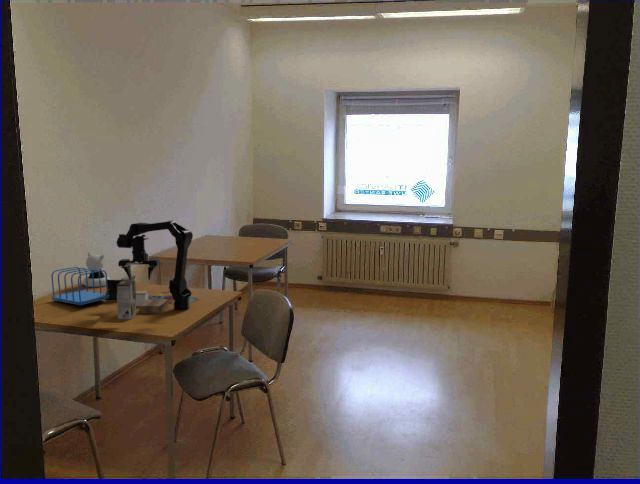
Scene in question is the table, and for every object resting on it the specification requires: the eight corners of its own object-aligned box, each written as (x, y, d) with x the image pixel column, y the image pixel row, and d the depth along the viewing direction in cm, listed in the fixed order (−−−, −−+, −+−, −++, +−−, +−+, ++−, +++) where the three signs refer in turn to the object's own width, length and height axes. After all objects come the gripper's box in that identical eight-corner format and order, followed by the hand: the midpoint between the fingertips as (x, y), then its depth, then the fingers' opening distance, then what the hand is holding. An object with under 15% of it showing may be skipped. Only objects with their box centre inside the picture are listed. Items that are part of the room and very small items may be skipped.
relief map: (201, 300, 291) (201, 297, 291) (177, 306, 279) (177, 302, 279) (170, 293, 306) (170, 289, 306) (146, 298, 294) (146, 294, 294)
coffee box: (122, 314, 262) (121, 280, 260) (137, 313, 263) (135, 280, 261) (117, 319, 253) (115, 284, 251) (131, 319, 254) (130, 284, 252)
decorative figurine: (115, 283, 327) (114, 249, 324) (102, 288, 313) (101, 253, 310) (91, 282, 329) (90, 248, 326) (77, 287, 315) (75, 252, 312)
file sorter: (51, 300, 287) (48, 270, 285) (82, 293, 301) (79, 265, 299) (80, 305, 273) (77, 274, 271) (111, 298, 287) (108, 268, 285)
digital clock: (129, 288, 313) (129, 272, 312) (141, 290, 310) (140, 274, 309) (112, 294, 300) (111, 277, 299) (124, 295, 298) (123, 278, 296)
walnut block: (168, 306, 277) (168, 299, 276) (160, 313, 264) (160, 306, 263) (148, 305, 277) (148, 299, 276) (139, 313, 264) (139, 305, 264)
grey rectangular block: (104, 300, 285) (105, 279, 286) (106, 300, 288) (107, 280, 290) (126, 300, 286) (127, 280, 287) (128, 300, 289) (129, 280, 291)
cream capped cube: (148, 303, 282) (148, 290, 281) (145, 306, 276) (144, 293, 275) (138, 303, 282) (137, 290, 281) (134, 306, 276) (134, 293, 276)
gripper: (162, 246, 283) (163, 276, 285) (124, 246, 282) (126, 276, 285) (155, 249, 272) (157, 281, 274) (117, 249, 271) (118, 281, 274)
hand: (140, 279), depth 277 cm, fingers open, 9 cm apart
